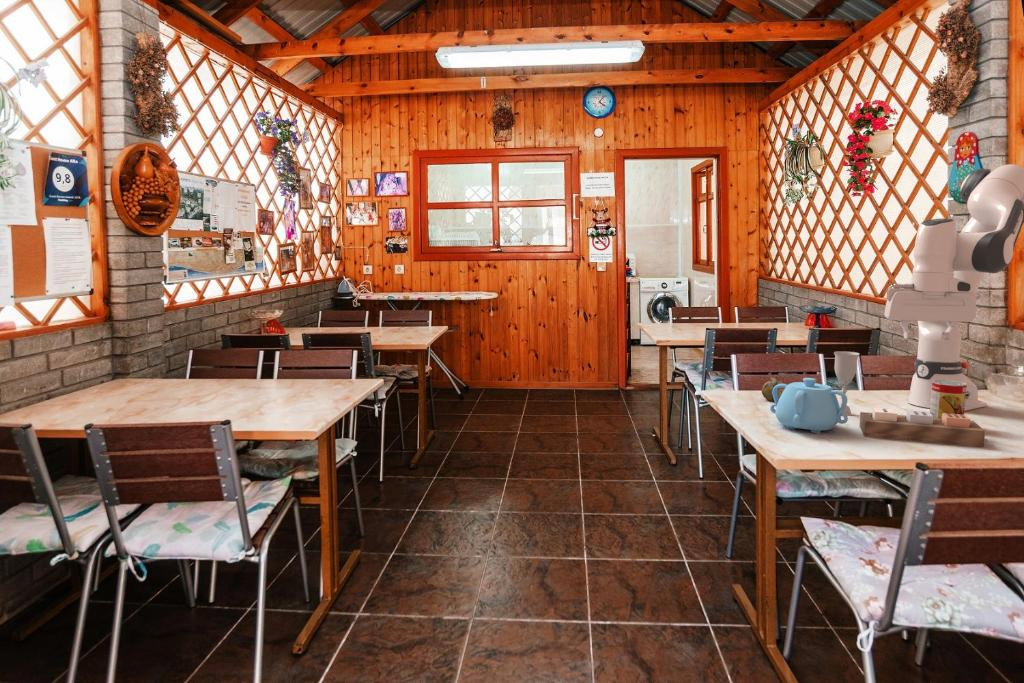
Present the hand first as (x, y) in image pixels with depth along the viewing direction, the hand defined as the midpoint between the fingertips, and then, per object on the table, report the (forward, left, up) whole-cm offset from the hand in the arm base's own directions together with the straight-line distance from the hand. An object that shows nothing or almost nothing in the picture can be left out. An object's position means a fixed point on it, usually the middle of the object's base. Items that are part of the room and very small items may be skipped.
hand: (927, 338), depth 169 cm
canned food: (-17, -6, -26) cm, 31 cm away
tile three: (-6, +5, -22) cm, 23 cm away
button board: (0, 0, -25) cm, 25 cm away
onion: (+6, -47, -26) cm, 54 cm away
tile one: (+6, -5, -22) cm, 24 cm away
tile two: (0, 0, -22) cm, 22 cm away
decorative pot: (+21, -16, -26) cm, 37 cm away
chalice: (-1, -26, -26) cm, 37 cm away
